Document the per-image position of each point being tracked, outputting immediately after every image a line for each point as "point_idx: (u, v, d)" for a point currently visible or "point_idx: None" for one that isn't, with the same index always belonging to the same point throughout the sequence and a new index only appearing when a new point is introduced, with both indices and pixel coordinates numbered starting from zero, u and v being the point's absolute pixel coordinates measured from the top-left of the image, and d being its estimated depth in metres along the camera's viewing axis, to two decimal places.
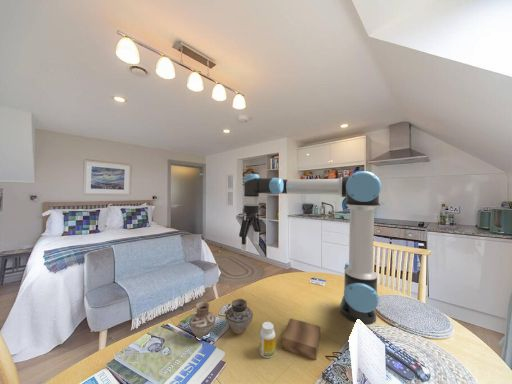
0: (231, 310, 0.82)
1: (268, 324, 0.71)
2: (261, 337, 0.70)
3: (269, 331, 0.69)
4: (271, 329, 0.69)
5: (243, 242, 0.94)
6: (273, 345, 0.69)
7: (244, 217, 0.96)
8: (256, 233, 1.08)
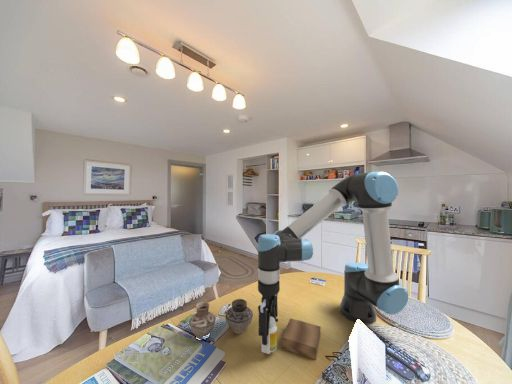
0: (231, 310, 0.82)
1: None
2: None
3: (270, 325, 0.69)
4: (272, 323, 0.69)
5: (264, 342, 0.67)
6: (275, 339, 0.69)
7: (260, 309, 0.65)
8: None
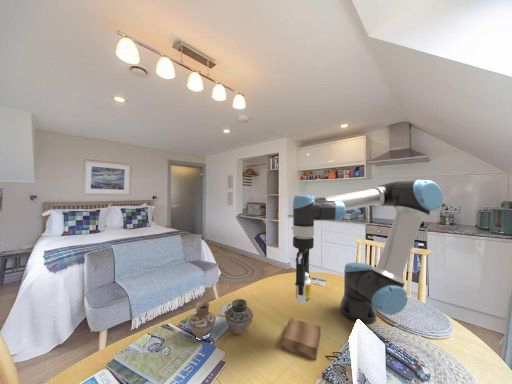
0: (231, 310, 0.82)
1: None
2: None
3: (305, 278, 0.74)
4: (307, 276, 0.74)
5: (301, 292, 0.72)
6: (309, 291, 0.74)
7: (298, 260, 0.70)
8: None
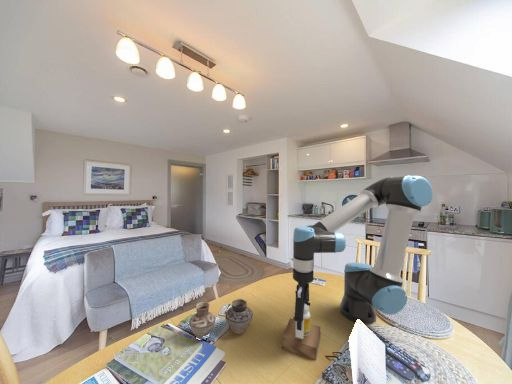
0: (231, 310, 0.82)
1: None
2: None
3: (305, 311, 0.74)
4: (307, 309, 0.74)
5: (299, 327, 0.70)
6: (309, 324, 0.74)
7: (298, 294, 0.70)
8: None
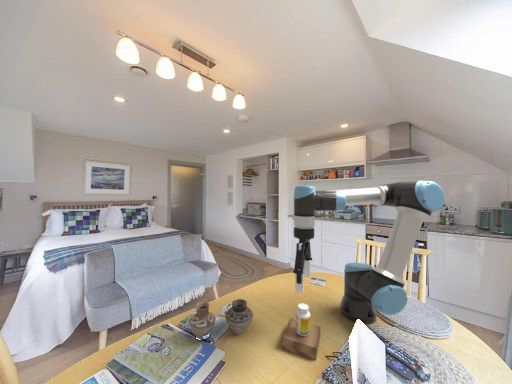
0: (231, 310, 0.82)
1: (303, 305, 0.76)
2: (297, 317, 0.75)
3: (305, 311, 0.74)
4: (307, 309, 0.74)
5: (299, 281, 0.68)
6: (309, 324, 0.74)
7: (299, 246, 0.70)
8: (307, 262, 0.82)
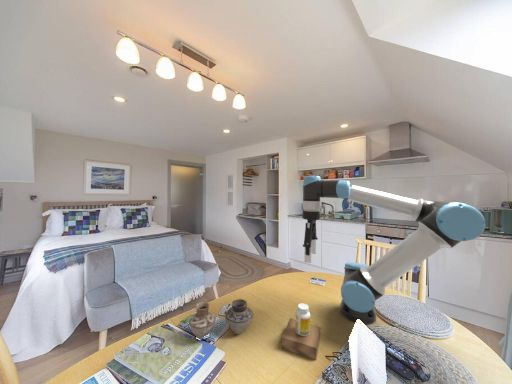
0: (231, 310, 0.82)
1: (303, 305, 0.76)
2: (297, 317, 0.75)
3: (305, 311, 0.74)
4: (307, 309, 0.74)
5: (307, 253, 0.84)
6: (309, 324, 0.74)
7: (307, 224, 0.85)
8: (313, 241, 0.97)
